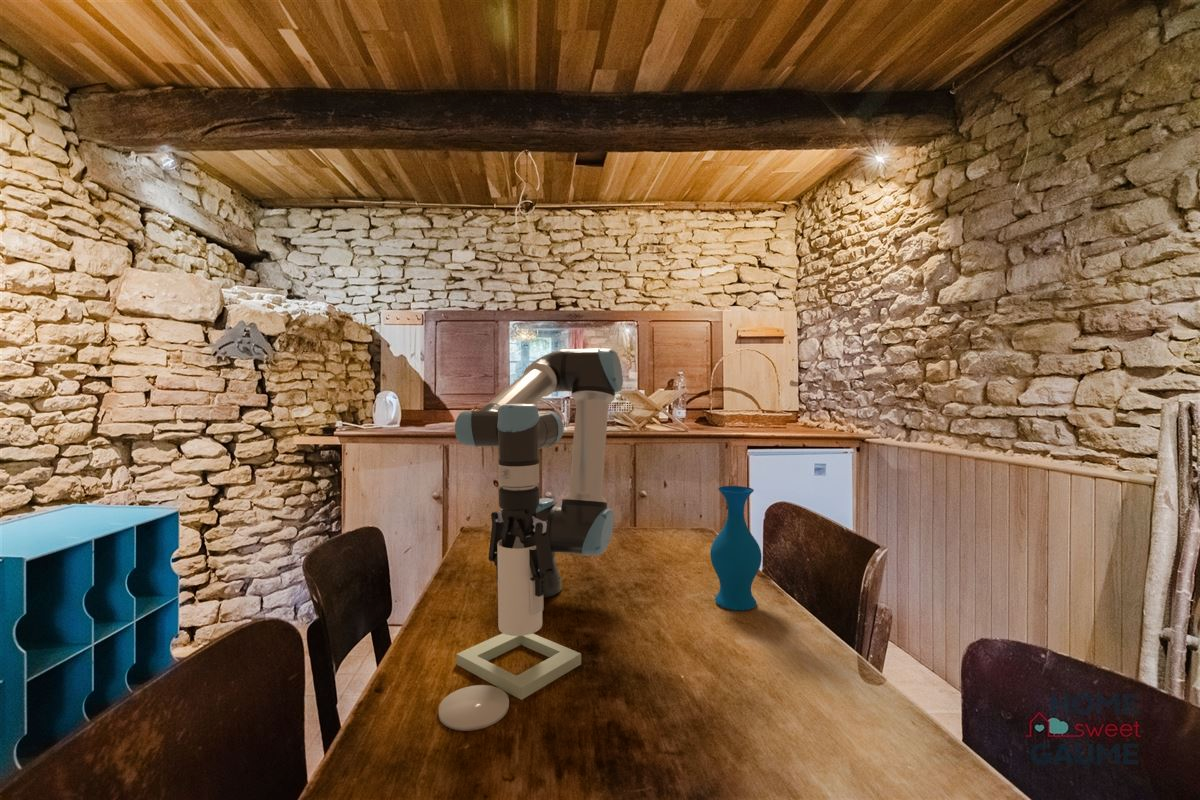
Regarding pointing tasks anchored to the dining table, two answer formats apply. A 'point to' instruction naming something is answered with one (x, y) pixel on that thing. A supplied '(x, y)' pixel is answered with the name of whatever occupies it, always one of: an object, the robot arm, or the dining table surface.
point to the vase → (735, 554)
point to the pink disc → (473, 707)
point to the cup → (515, 591)
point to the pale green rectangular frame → (527, 680)
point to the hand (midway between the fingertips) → (520, 605)
